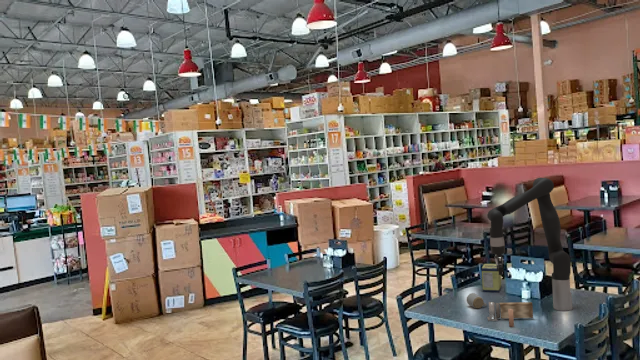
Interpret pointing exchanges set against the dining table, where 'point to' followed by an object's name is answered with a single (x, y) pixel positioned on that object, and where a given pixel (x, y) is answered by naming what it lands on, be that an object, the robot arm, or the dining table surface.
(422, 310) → the dining table surface
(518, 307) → the gate
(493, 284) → the protein box
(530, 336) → the dining table surface
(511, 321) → the latch post
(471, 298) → the ceramic mug
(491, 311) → the hinge post
